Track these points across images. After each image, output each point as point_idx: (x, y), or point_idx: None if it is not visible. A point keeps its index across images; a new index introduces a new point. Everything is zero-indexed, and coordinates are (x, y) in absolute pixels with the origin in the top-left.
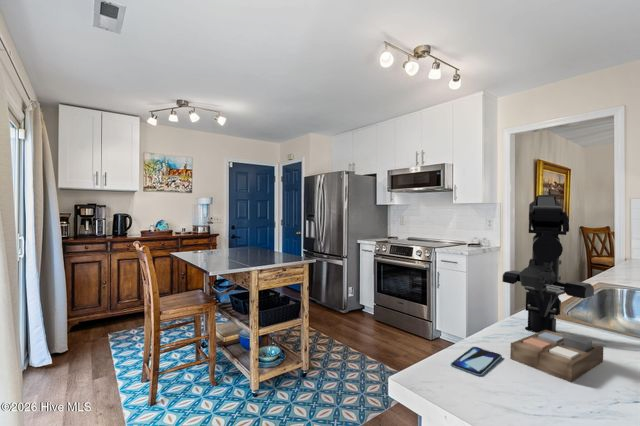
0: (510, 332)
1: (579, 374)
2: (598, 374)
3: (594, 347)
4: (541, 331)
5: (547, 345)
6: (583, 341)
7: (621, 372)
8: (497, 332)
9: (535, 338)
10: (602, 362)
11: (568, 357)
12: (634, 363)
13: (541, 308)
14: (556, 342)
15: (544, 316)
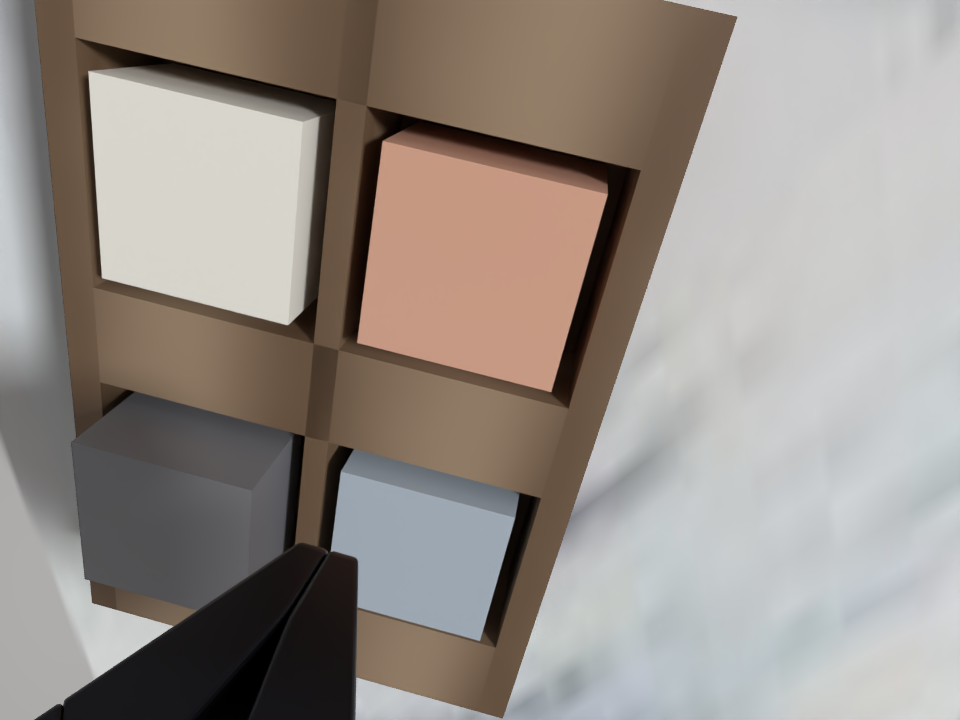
0: (790, 687)
1: None
2: None
3: None
4: (520, 657)
5: (365, 278)
6: (109, 500)
7: (50, 429)
8: (901, 629)
9: (520, 433)
10: None
11: (119, 74)
12: (69, 614)
13: (274, 658)
14: (347, 463)
15: (295, 546)
